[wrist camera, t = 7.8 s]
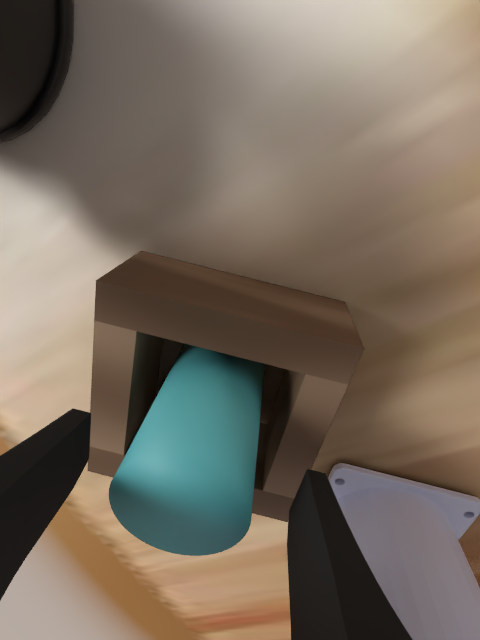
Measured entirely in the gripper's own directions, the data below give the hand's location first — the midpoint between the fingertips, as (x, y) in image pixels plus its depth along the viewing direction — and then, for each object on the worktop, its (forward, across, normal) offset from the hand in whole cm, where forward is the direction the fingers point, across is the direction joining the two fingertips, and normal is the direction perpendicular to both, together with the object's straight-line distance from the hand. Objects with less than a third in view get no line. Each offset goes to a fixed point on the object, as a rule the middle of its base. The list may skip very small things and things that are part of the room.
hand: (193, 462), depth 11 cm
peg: (+6, 0, 0) cm, 6 cm away
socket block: (+6, 0, 0) cm, 6 cm away
